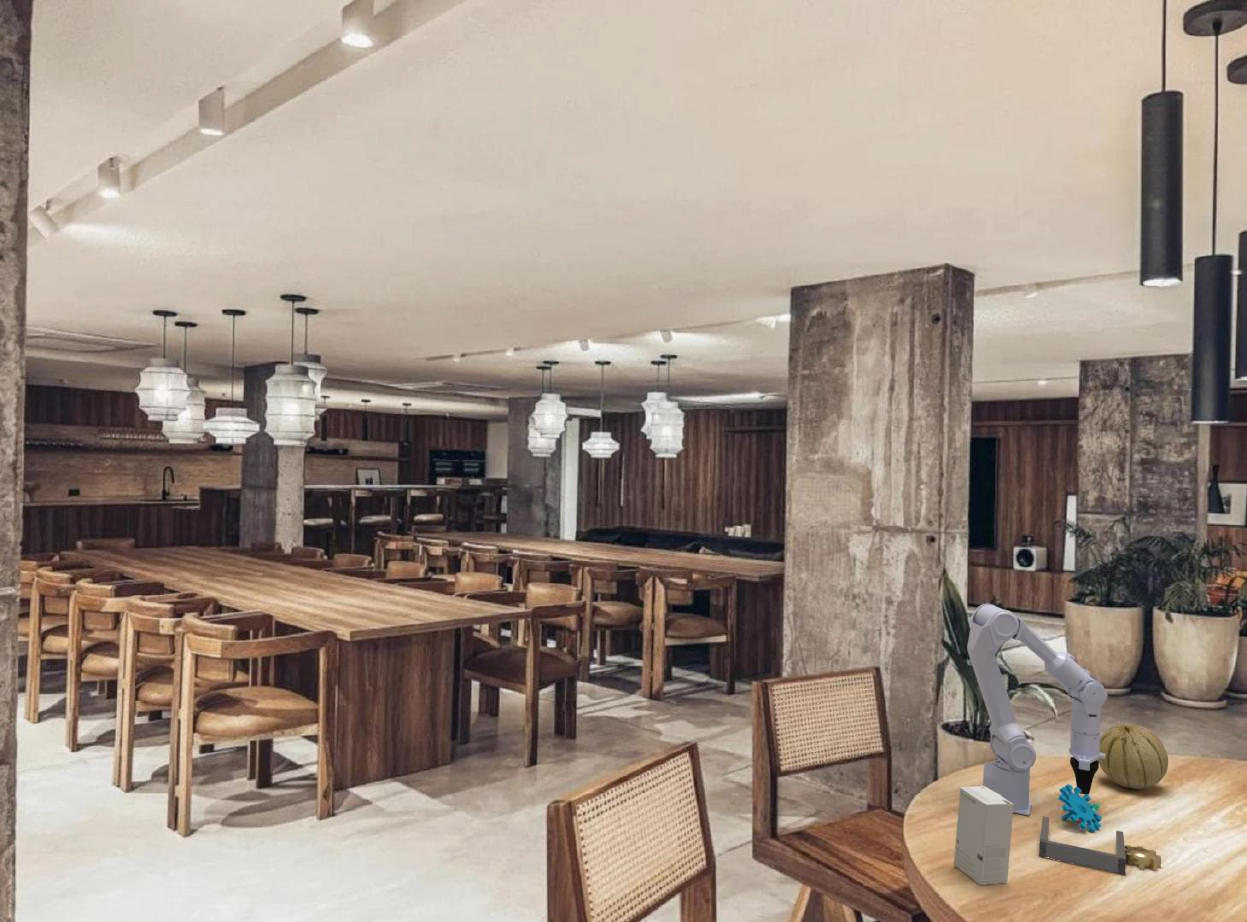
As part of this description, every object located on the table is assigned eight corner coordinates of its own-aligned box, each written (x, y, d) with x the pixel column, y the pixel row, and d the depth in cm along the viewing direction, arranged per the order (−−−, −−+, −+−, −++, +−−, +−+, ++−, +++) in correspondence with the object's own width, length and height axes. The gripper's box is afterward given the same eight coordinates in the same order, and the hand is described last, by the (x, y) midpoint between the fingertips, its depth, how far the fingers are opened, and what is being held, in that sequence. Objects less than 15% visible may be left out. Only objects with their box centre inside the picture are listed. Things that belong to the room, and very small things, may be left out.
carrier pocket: (1038, 856, 170) (1039, 841, 170) (1042, 830, 183) (1042, 815, 183) (1163, 883, 161) (1164, 867, 161) (1158, 854, 173) (1158, 838, 173)
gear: (1080, 829, 180) (1054, 782, 187) (1059, 842, 184) (1035, 795, 190) (1116, 829, 184) (1090, 783, 191) (1095, 841, 188) (1070, 796, 195)
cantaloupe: (1167, 784, 213) (1170, 722, 213) (1166, 803, 200) (1168, 737, 200) (1097, 771, 221) (1100, 711, 221) (1092, 788, 208) (1094, 724, 208)
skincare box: (953, 866, 165) (956, 785, 165) (981, 863, 166) (984, 784, 166) (982, 887, 157) (985, 803, 157) (1011, 884, 158) (1014, 801, 158)
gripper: (1106, 743, 187) (1104, 808, 187) (1105, 726, 200) (1103, 786, 200) (1069, 737, 190) (1067, 801, 190) (1070, 721, 203) (1068, 780, 203)
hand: (1083, 793), depth 195 cm, fingers closed
